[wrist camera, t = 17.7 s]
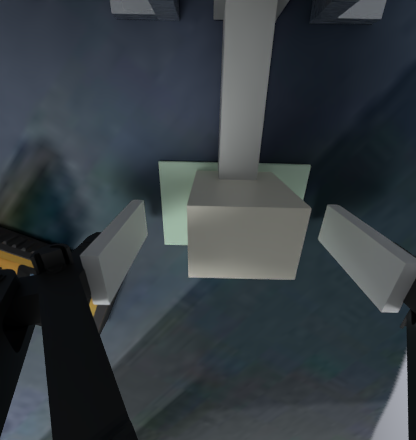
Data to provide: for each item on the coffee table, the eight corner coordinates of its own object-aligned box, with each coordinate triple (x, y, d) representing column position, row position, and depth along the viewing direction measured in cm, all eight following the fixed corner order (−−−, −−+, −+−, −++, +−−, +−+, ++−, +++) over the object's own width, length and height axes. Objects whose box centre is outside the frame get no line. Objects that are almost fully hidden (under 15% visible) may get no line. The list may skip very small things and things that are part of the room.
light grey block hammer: (195, -31, 11) (175, -215, 5) (300, -29, 11) (413, -213, 5) (196, 219, 18) (188, 277, 11) (264, 221, 18) (294, 279, 11)
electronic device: (-51, 199, 18) (-104, 216, 15) (128, 265, 21) (113, 290, 18) (-47, 272, 22) (-90, 297, 19) (107, 321, 24) (92, 350, 21)
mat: (159, 160, 16) (158, 161, 16) (308, 164, 16) (311, 165, 16) (165, 242, 19) (164, 244, 19) (291, 245, 19) (292, 247, 19)
